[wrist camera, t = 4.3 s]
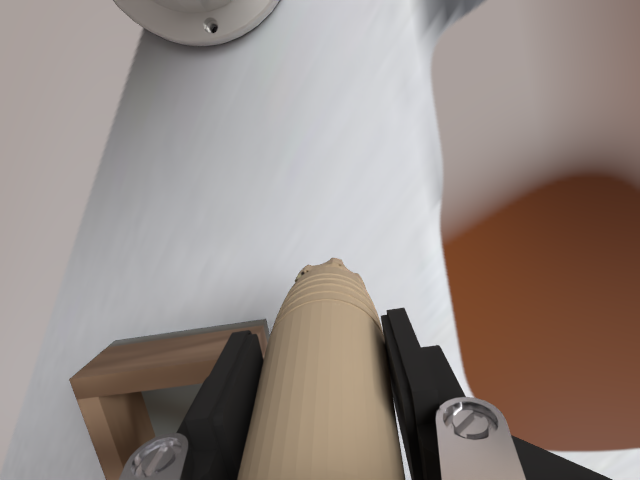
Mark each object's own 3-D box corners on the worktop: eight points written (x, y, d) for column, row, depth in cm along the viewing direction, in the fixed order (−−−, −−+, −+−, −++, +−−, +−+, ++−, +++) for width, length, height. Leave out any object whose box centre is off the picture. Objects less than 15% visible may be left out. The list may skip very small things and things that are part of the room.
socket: (115, 340, 29) (69, 379, 24) (265, 318, 28) (250, 354, 23) (157, 468, 31) (123, 527, 26) (296, 453, 30) (287, 511, 25)
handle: (248, 303, 18) (-99, 958, 4) (334, 204, 17) (335, 627, 2) (323, 361, 19) (287, 1109, 4) (412, 271, 17) (809, 933, 3)
